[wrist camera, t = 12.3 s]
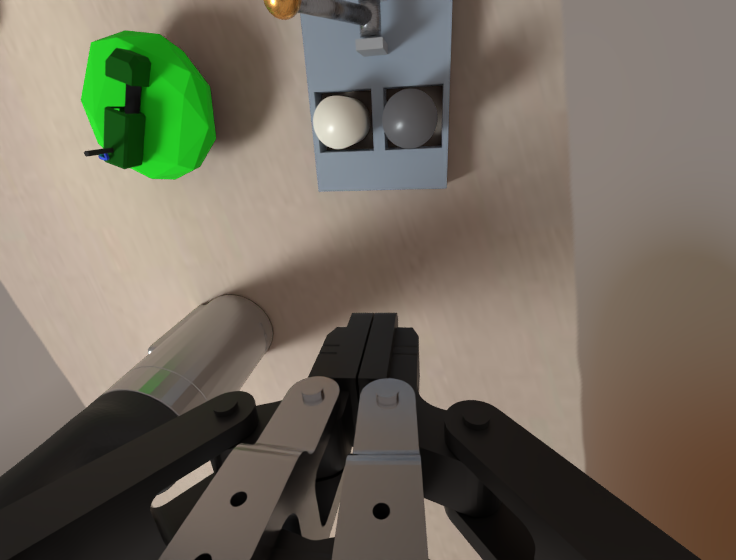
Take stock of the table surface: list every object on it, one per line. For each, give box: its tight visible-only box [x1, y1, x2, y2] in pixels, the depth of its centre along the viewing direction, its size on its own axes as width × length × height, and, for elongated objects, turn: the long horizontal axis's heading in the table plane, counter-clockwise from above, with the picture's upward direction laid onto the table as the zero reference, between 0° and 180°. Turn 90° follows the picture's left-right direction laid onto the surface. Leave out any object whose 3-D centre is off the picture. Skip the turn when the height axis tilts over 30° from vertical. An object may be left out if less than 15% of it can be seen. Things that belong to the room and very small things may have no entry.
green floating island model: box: [81, 31, 216, 179], centre depth 32 cm, size 12×12×11 cm
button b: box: [382, 89, 438, 149], centre depth 30 cm, size 4×4×5 cm
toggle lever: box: [264, 0, 381, 39], centre depth 25 cm, size 2×2×10 cm
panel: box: [300, 0, 452, 192], centre depth 29 cm, size 12×26×6 cm, turn 3°
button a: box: [313, 96, 371, 149], centre depth 33 cm, size 4×4×5 cm
